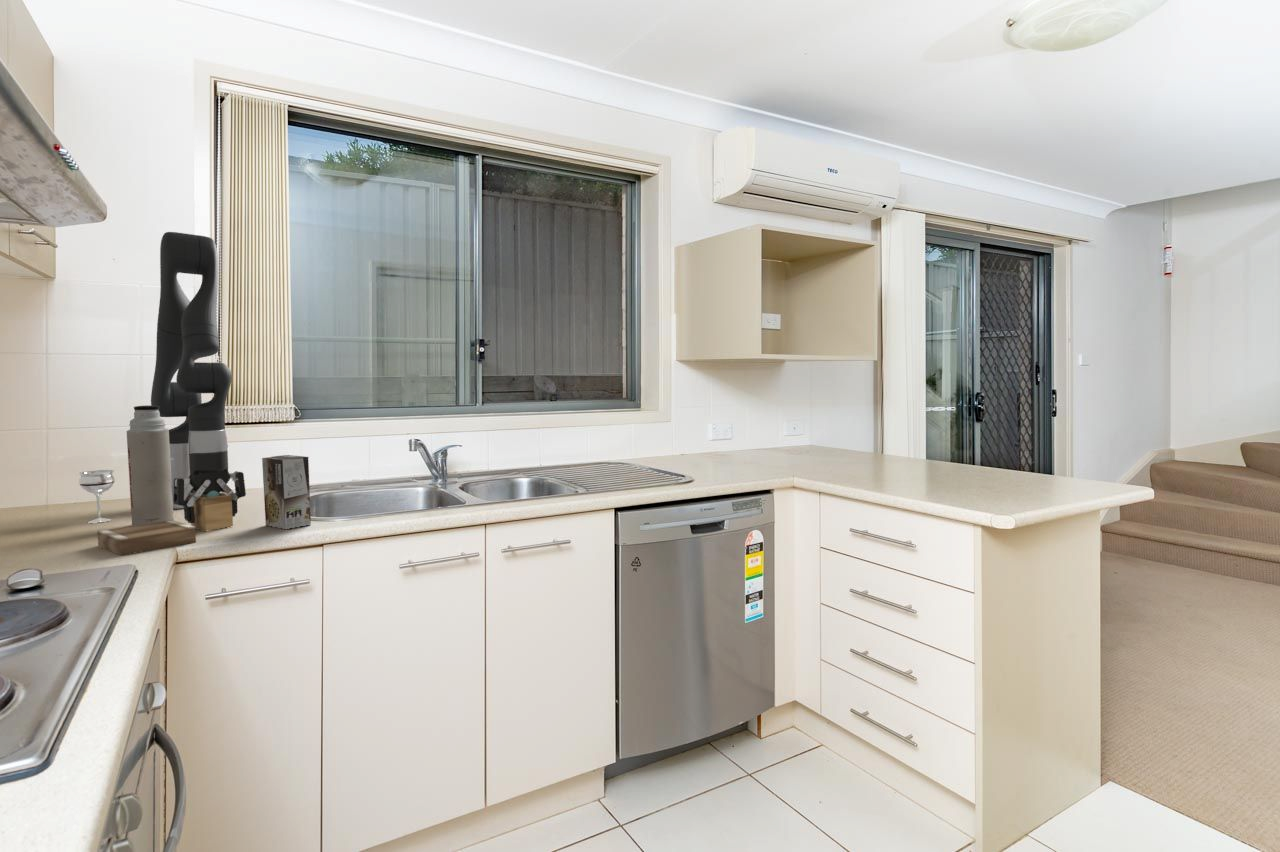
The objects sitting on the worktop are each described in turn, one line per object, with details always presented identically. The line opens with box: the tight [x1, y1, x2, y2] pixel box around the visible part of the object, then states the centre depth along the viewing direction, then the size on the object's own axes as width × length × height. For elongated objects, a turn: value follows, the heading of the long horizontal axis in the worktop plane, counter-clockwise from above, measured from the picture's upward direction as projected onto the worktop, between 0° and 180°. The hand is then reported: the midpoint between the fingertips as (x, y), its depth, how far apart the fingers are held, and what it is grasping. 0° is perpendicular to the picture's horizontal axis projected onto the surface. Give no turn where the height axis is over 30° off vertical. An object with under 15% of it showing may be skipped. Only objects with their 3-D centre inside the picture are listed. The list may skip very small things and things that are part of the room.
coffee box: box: [261, 454, 312, 530], centre depth 157 cm, size 9×6×16 cm
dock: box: [96, 519, 197, 556], centre depth 140 cm, size 13×13×3 cm
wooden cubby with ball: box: [190, 492, 234, 532], centre depth 156 cm, size 8×6×8 cm
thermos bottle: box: [126, 404, 175, 526], centre depth 158 cm, size 8×8×28 cm
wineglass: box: [78, 469, 116, 524], centre depth 163 cm, size 7×7×12 cm
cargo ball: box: [203, 491, 219, 498], centre depth 156 cm, size 3×3×3 cm
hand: (211, 519), depth 156 cm, fingers open, 8 cm apart
